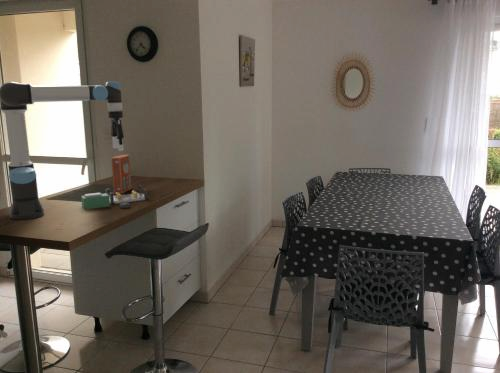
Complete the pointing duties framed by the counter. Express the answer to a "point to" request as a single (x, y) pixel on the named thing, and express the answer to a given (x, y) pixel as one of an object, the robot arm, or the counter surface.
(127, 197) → the chassis
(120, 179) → the orange cardboard box
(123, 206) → the tape roll
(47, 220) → the counter surface
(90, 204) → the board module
